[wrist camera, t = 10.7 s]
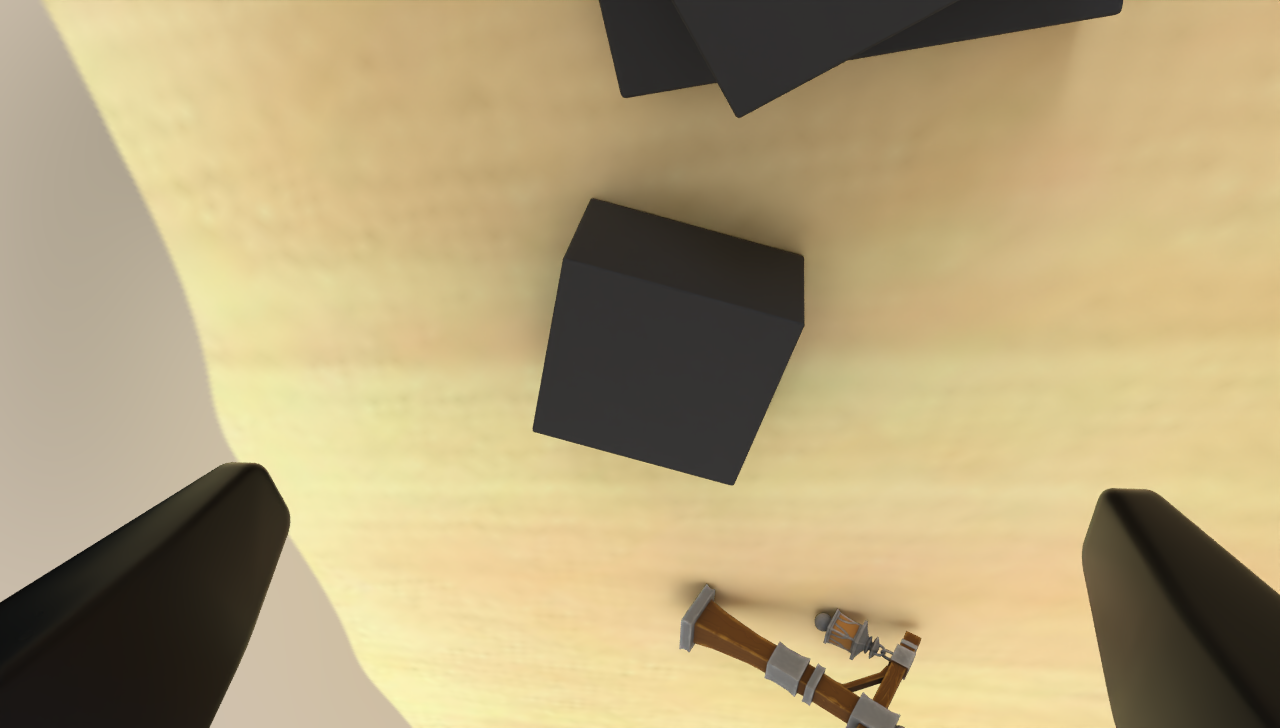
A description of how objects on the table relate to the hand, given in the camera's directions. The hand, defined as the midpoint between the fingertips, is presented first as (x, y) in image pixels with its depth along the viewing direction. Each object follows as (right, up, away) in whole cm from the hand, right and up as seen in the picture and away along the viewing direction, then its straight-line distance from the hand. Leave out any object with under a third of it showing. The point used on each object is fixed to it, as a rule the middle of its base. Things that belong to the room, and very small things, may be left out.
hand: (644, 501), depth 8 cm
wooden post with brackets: (+6, -7, +20) cm, 22 cm away
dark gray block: (+1, +3, +13) cm, 13 cm away
